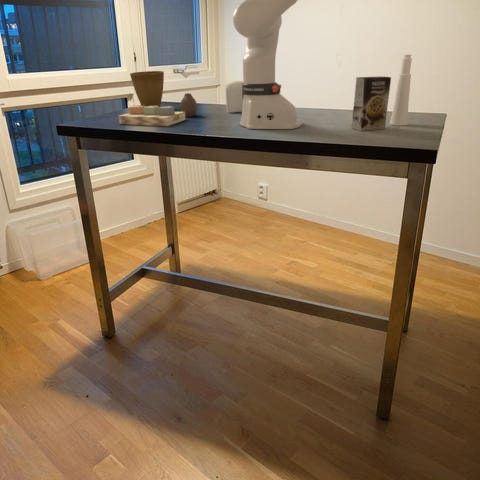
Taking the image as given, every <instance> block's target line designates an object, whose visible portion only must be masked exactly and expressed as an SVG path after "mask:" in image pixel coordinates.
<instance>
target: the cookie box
mask: <svg viewBox="0 0 480 480" xmlns="http://www.w3.org/2000/svg"><path fill="white" fill-rule="evenodd" d="M391 82H392V77H390V76H363V77H362V76H361V77H359V76H357V77H356V78H355V90H354V99H353V100H354V101H353V108H352V121H351V128H352V129H355V130H357V131H360V132H365V131H377V130H385V129H386V121H387V113H388V104H389V98H390V97H389V96H390V91H391Z"/></svg>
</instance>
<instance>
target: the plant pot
mask: <svg viewBox="0 0 480 480" xmlns="http://www.w3.org/2000/svg"><path fill="white" fill-rule="evenodd" d="M129 76H130V79H131V82H132V86H133V89H134V92H135V95H136V96H137V98H138V99H137V100H138V101H139V103H140V106H145V107H147V106H159V108H160V107H161V104H162V100H163V94H164V91H163V90H164V82H165V81H164V80H165V78H164V77H165V72H164V71H163V70H149V71H136V72H130V73H129Z"/></svg>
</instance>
